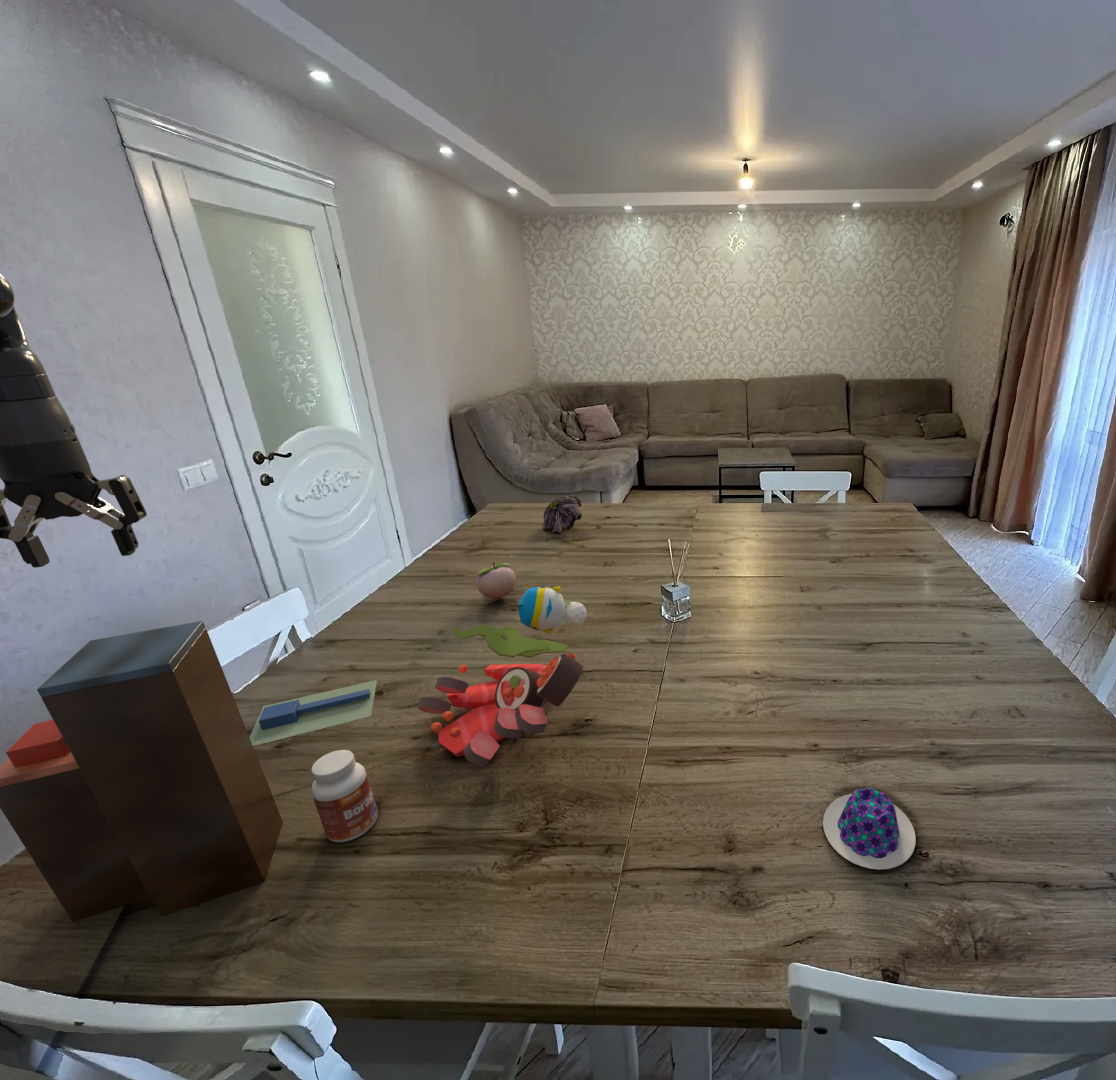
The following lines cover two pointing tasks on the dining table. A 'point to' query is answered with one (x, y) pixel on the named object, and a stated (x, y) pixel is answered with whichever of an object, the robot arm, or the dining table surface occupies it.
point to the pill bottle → (343, 796)
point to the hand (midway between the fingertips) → (87, 559)
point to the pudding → (869, 830)
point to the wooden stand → (144, 780)
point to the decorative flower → (561, 514)
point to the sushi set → (510, 681)
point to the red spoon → (38, 745)
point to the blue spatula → (304, 709)
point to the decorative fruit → (496, 581)
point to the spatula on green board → (318, 714)
